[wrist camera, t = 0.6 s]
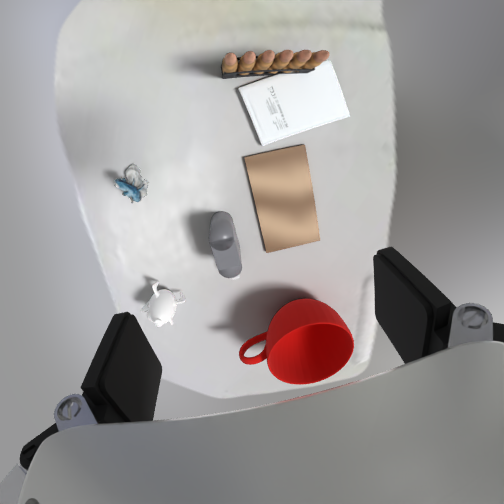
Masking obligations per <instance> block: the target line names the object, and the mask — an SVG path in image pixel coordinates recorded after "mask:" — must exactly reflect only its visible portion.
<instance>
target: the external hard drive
mask: <svg viewBox="0 0 504 504" xmlns="http://www.w3.org/2000/svg"><path fill="white" fill-rule="evenodd" d="M296 72H297V71H292V72H290V73H296ZM238 89H239V91H240V94H241V96H242V98H243V101H244V103H245V106H246V108H247V110H248V112H249V115H250V117H251V120H252V122H253V125H254V127H255V130H256V132H257V135H258V137H259V140H260V142H261V145H262V146H264V145H267V144H269V143H272V142H275V141H277V140H280V139H283V138H286V137H289V136H292V135H295V134H297V133H300V132H303V131H306V130H309V129H312V128H315V127H318V126H321V125H324V124H328V123H331V122H334V121H337V120H340V119H344V118H347V117H350V114H349V111H348V108H347V105H346V102H345V99H344V96H343V93H342V90H341V87H340V85H339V82H338V79H337V76H336V73H335V71H334V68H333V65H332V63H331V61H330V60H326V61H323V62H322V63H321V64H320V65H319V66H317V67H315V70H314V71H311V72H309V73H299V74H277V75H274V76H271V77H268V78H265V79H262V80H259V81H256V82H254V83H251V84H248V85H245V86H243V87H240V88H238Z"/></svg>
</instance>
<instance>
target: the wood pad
mask: <svg viewBox="0 0 504 504" xmlns="http://www.w3.org/2000/svg"><path fill="white" fill-rule="evenodd" d="M244 158H245V163H246V167H247V171H248V175H249V179H250V184H251V188H252V192H253V196H254V201H255V205H256V209H257V214H258V218H259V222H260V227H261V231H262V235H263V240H264V244H265V248H266V252H267V253H269V252H274V251H278V250H282V249H286V248H290V247H294V246H299V245H303V244H307V243H311V242H315V241H320V235H319V228H318V221H317V214H316V207H315V201H314V195H313V188H312V182H311V176H310V171H309V165H308V159H307V154H306V148H305V145H298V146H293V147H288V148H283V149H278V150H274V151H269V152H264V153H260V154H255V155H251V156H247V157H244Z"/></svg>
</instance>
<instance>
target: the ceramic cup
mask: <svg viewBox="0 0 504 504" xmlns="http://www.w3.org/2000/svg"><path fill="white" fill-rule="evenodd" d="M263 340H266V345H265V347H264V350H263V351H262V352H261V353H260V354H259V355H257V356H255V357H245V356H244V353H245V352H246V350H247V349H248V348H250V347H251V346H253V345H254V344H256V343H259V342H261V341H263ZM353 349H354V340H353V337H352V334H351V332H350V330H349V329H348V327H347V325H346V324H345V322H344V321H343V320H342V318H341V317H340V316H339V314H338V313H337V312H336V311H335V310H334V309H332V308H331V307H330V306H328V305H327V304H325V303H323V302H321V301H318V300H314V299H298V300H294V301H291V302H289V303H288V304H286V305H285V306H283V307H282V308H281V309H280V310H279V311H278V312H277V313H276V314H275V316H274V317H273V319H272V321H271V323H270V325H269V328H268V331H267V332H265V333H262V334H260V335H257V336H255V337H253V338H251V339H249V340H248V341H246V342H245V343H244V344H243V345H242V347H241V348H240V351H239V357H240V359H241V361H242V362H243V363H245V364H249V365H251V364H256V363H259V362H262V361H263V360H265V359H267V364H268V367H269V370H270V372H271V373H272V374H273V375H274V376H275V377H276V378H277V379H279V380H281V381H283V382H286V383H290V384H310V383H315V382H318V381H321V380H324V379H326V378H328V377H330V376H332V375H334V374H335V373H337V372H338V371H339V370H341V369H342V368H343V367H344V366H345V365H346V363H347V362H348V360H349V359H350V357H351V355H352V353H353Z"/></svg>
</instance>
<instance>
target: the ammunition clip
mask: <svg viewBox="0 0 504 504" xmlns="http://www.w3.org/2000/svg"><path fill="white" fill-rule="evenodd" d="M328 57H329V52H328V51H326V50H321V51H318V52H313V53H311V51H310V50H302V51H300V52H296V53H294V54H293V51H291V50H284V51H282V52H280V53H278V54H276V55H275V54H274V52H273V51H272V50H267V51H265V52H264V53H262V54H260V55H259V56H256V55H255V53H254V52H252V51H248V52H246V53H245V54H244V55H243V56H242V57H238V58H236V55H235V54H234V53H228V54H226V56H225V57H224V59H223V61H222V65H221V69H222V78H223V79H227V78H237V77H249V76H264V75H277V74H299V73H309V72H311V71H314V70H315V67H317V66H319V65H320V64H321V63H322V62H323V61H325V60H326V59H327V58H328ZM256 58H257V59H256ZM238 60H240V61H239V62H238ZM292 71H297V72H296V73H290V72H292Z"/></svg>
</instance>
